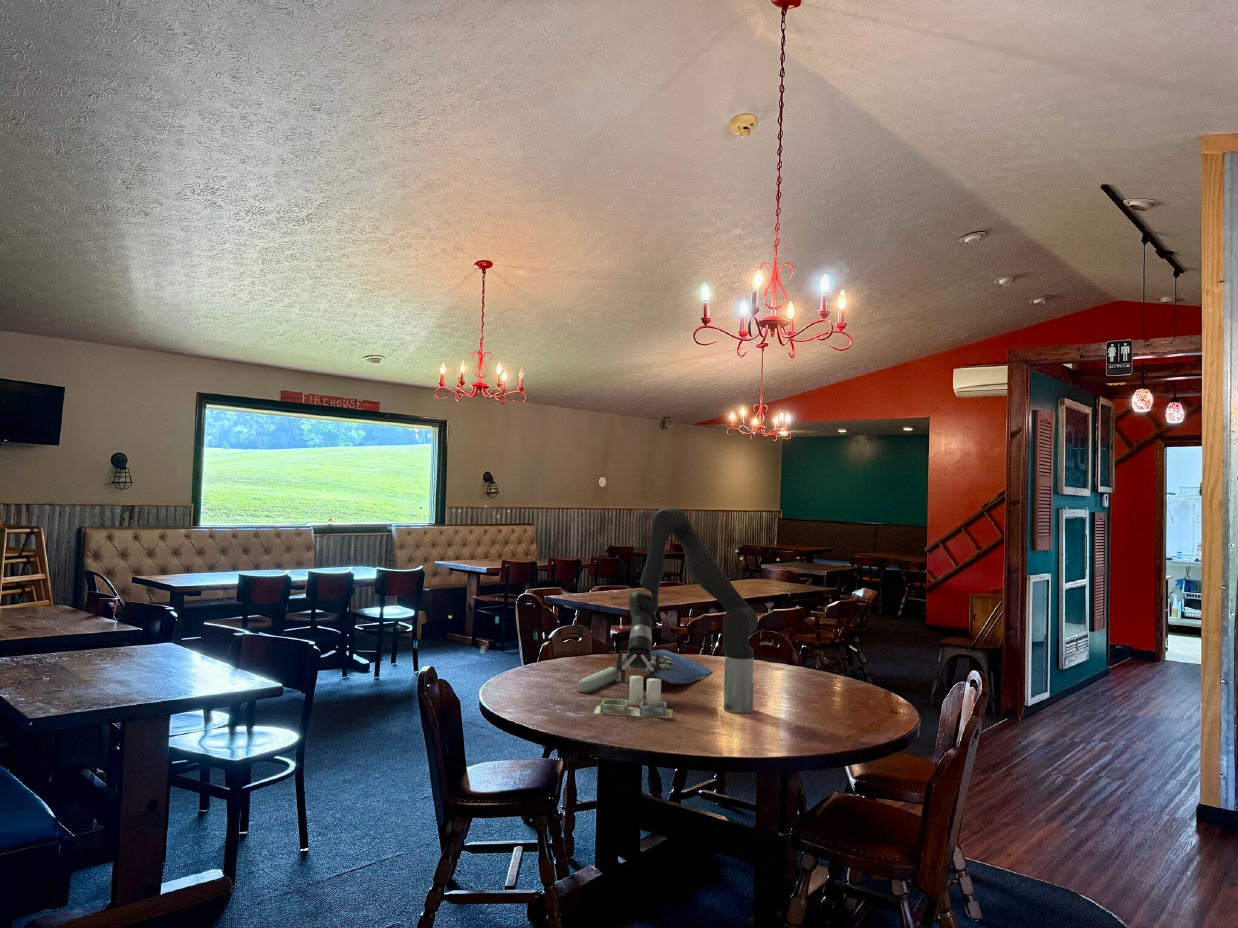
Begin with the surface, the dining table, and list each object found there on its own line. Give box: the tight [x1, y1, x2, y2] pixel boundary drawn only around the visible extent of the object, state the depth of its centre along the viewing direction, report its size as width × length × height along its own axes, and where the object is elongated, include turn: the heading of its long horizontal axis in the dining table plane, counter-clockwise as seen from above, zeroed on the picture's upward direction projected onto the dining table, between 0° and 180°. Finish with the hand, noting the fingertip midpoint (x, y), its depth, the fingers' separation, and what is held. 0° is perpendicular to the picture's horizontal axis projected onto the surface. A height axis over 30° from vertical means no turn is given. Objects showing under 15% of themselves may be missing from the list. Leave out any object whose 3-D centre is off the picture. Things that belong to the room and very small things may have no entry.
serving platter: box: [621, 649, 713, 685], centre depth 310 cm, size 45×27×12 cm, turn 155°
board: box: [593, 698, 674, 719], centre depth 251 cm, size 24×10×4 cm, turn 85°
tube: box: [577, 666, 620, 694], centre depth 291 cm, size 5×5×25 cm
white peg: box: [628, 675, 644, 707], centre depth 261 cm, size 5×5×10 cm
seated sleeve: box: [645, 677, 662, 707], centre depth 251 cm, size 5×5×10 cm
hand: (636, 682), depth 264 cm, fingers open, 8 cm apart
